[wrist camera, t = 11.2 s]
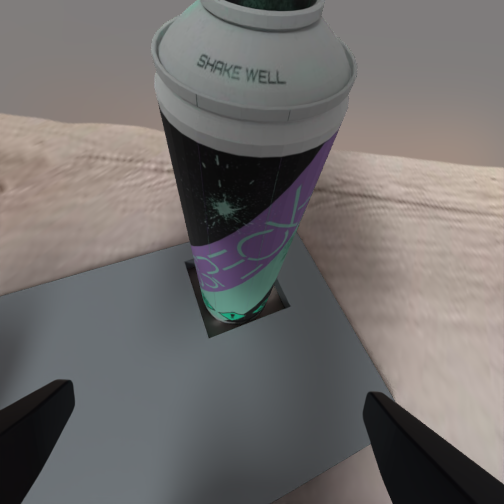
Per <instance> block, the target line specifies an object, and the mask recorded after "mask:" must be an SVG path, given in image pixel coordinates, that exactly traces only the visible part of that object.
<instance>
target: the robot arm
mask: <svg viewBox="0 0 504 504" xmlns="http://www.w3.org/2000/svg"><path fill="white" fill-rule="evenodd" d="M74 407H75V394H74V386H73V382H72V381H71V380H69V379H56V380H54V381H52V382H50V383H48V384H47V385H45V386H43V387H41V388H39V389H38V390H36V391H34V392H32V393H30V394H28V395H27V396H25V397H23V398H21V399H19V400H18V401H16V402H14V403H12V404H10V405H9V406H7V407H5V408H3V409H1V410H0V504H21V503H22V501H23V500H24V498H25V497H26V495H27V494H28V492H29V490H30V489H31V487H32V486H33V484H34V482H35V481H36V479H37V477H38V476H39V474H40V473H41V471H42V469H43V467H44V466H45V464H46V462H47V460H48V458H49V456H50V454H51V452H52V451H53V449H54V447H55V445H56V443H57V441H58V439H59V437H60V435H61V433H62V431H63V429H64V428H65V426H66V424H67V422H68V420H69V418H70V416H71V414H72V412H73V410H74ZM362 415H363V421H364V424H365V427H366V430H367V433H368V437H369V440H370V443H371V446H372V449H373V452H374V455H375V458H376V461H377V464H378V467H379V470H380V473H381V476H382V479H383V481H384V484H385V486H386V489H387V491H388V494H389V496H390V498H391V501H392V503H393V504H504V484H503V483H501V482H500V481H499V480H497V479H496V478H495V477H493V476H492V475H491V474H489V473H488V472H487V471H485V470H484V469H483V468H481V467H480V466H479V465H478V464H476V463H475V462H474V461H472V460H471V459H470V458H468V457H467V456H466V455H464V454H463V453H462V452H460V451H459V450H458V449H456V448H455V447H454V446H452V445H451V444H450V443H449V442H447V441H446V440H445V439H443V438H442V437H441V436H439V435H438V434H437V433H435V432H434V431H433V430H431V429H430V428H429V427H427V426H426V425H425V424H423V423H422V422H421V421H420V420H418V419H417V418H416V417H414V416H413V415H412V414H410V413H409V412H408V411H406V410H405V409H404V408H402V407H401V406H400V405H398V404H397V403H396V402H394V401H393V400H392V399H390V398H389V397H388V396H387V395H385V394H384V393H382V392H377V391H369V392H368V393H367V395H366V399H365V403H364V408H363V414H362Z"/></svg>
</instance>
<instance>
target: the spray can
mask: <svg viewBox="0 0 504 504" xmlns="http://www.w3.org/2000/svg"><path fill="white" fill-rule="evenodd" d="M324 3H325V0H197V1H196V2H194V3H193V4H192V5H191V6H189V7H188V8H187V9H186V10H185V11H184V12H183V13H182V14H181V15H179V16H176V17H175V18H173V19H171V20H170V21H168V22H166V23H165V24H164V25H162V26H161V28H159V29H158V31H157V32H156V33H155V35H154V38H153V40H152V45H151V53H152V58H153V63H154V66H155V68H156V71H157V72H156V74H155V84H154V86H155V91H156V96H157V100H158V104H159V109H160V113H161V117H162V122H163V126H164V131H165V135H166V139H167V144H168V148H169V153H170V157H171V161H172V166H173V170H174V174H175V179H176V183H177V188H178V192H179V196H180V201H181V205H182V210H183V214H184V218H185V223H186V227H187V231H188V236H189V240H190V245H191V249H192V253H193V258H194V262H195V266H196V271H197V275H198V280H199V284H200V288H201V293H202V297H203V301H204V304H205V306H206V308H207V310H208V311H209V312H210V314H211V315H212V316H213V317H215V318H216V319H217V320H219V321H221V322H223V323H227V324H236V325H237V324H243V323H246V322H249V321H251V320H253V319H254V318H256V317H257V316H258V315H259V314H260V313H261V311H262V310H263V308H264V307H265V304H266V302H267V300H268V297H269V295H270V293H271V290H272V288H273V286H274V283H275V281H276V278H277V276H278V274H279V271H280V269H281V266H282V264H283V262H284V259H285V257H286V255H287V252H288V250H289V247H290V245H291V243H292V240H293V238H294V235H295V233H296V231H297V228H298V226H299V224H300V221H301V219H302V216H303V214H304V212H305V209H306V207H307V204H308V202H309V200H310V197H311V195H312V193H313V190H314V188H315V185H316V183H317V181H318V178H319V176H320V173H321V171H322V169H323V166H324V164H325V162H326V159H327V157H328V154H329V152H330V150H331V147H332V145H333V142H334V140H335V138H336V135H337V133H338V130H339V128H340V126H341V123H342V121H343V119H344V116H345V114H346V111H347V109H348V101H349V96H348V95H349V92H350V90H351V88H352V86H353V84H354V81H355V79H356V77H357V63H356V60H355V57H354V55H353V53H352V52H351V50H350V49H349V48H348V46H347V45H346V44H345V43H344V42H342V41H341V39H339V38H338V37H337V36H336V35H335V34H334V32H333V31H332V29H331V28H330V26H329V25H328V24H327V22H326V21H325V20H324V18H323V17H322V16H321V15H322V11H323V7H324Z"/></svg>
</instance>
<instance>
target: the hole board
mask: <svg viewBox="0 0 504 504" xmlns="http://www.w3.org/2000/svg"><path fill="white" fill-rule="evenodd" d="M193 267H196V266H195V262H194V258H193V253H192V249H191V245H190V242H187V243H184V244H180V245H177V246H173V247H170V248H166V249H163V250H159V251H156V252H152V253H149V254H146V255H142V256H139V257H135V258H132V259H128V260H125V261H121V262H118V263H114V264H111V265H107V266H104V267H100V268H97V269H94V270H90V271H87V272H83V273H80V274H76V275H73V276H69V277H66V278H62V279H59V280H55V281H52V282H48V283H45V284H42V285H38V286H35V287H31V288H28V289H24V290H21V291H17V292H14V293H10V294H7V295H3V296H0V410H1V409H3V408H5V407H7V406H9V405H10V404H12V403H14V402H16V401H18V400H19V399H21V398H23V397H25V396H27V395H28V394H30V393H32V392H34V391H36V390H38V389H39V388H41V387H43V386H45V385H47V384H48V383H50V382H52V381H54V380H56V379H69V380H71V381H72V382H73V386H74V394H75V407H74V410H73V412H72V414H71V416H70V418H69V420H68V422H67V424H66V426H65V428H64V429H63V431H62V433H61V435H60V437H59V439H58V441H57V443H56V445H55V447H54V449H53V451H52V452H51V454H50V456H49V458H48V460H47V462H46V464H45V466H44V467H43V469H42V471H41V473H40V474H39V476H38V477H37V479H36V481H35V482H34V484H33V486H32V487H31V489H30V490H29V492H28V494H27V495H26V497H25V498H24V500H23V501H22V503H21V504H271V503H272V502H274V501H276V500H277V499H279V498H281V497H282V496H284V495H286V494H287V493H289V492H291V491H293V490H294V489H296V488H298V487H299V486H301V485H303V484H304V483H306V482H308V481H309V480H311V479H313V478H314V477H316V476H318V475H319V474H321V473H323V472H324V471H326V470H328V469H329V468H331V467H333V466H335V465H336V464H338V463H340V462H341V461H343V460H345V459H346V458H348V457H350V456H351V455H353V454H355V453H356V452H358V451H360V450H361V449H363V448H365V447H366V446H368V445H370V444H371V443H370V440H369V437H368V433H367V430H366V427H365V424H364V421H363V415H362V414H363V408H364V403H365V399H366V395H367V393H368V392H369V391H377V392H382V393H384V394H385V395H387V396H388V397H389V398H390V399H392V400H393V401H394V402H395V400H394V399H393V397H392V395H391V394H390V392H389V390H388V388H387V387H386V385H385V383H384V382H383V380H382V378H381V376H380V375H379V373H378V371H377V369H376V368H375V366H374V364H373V363H372V361H371V359H370V357H369V356H368V354H367V352H366V350H365V349H364V347H363V345H362V344H361V342H360V340H359V338H358V337H357V335H356V333H355V331H354V330H353V328H352V326H351V325H350V323H349V321H348V319H347V318H346V316H345V314H344V313H343V311H342V309H341V307H340V306H339V304H338V302H337V300H336V299H335V297H334V295H333V294H332V292H331V290H330V288H329V287H328V285H327V283H326V281H325V280H324V278H323V276H322V275H321V273H320V271H319V269H318V268H317V266H316V264H315V262H314V261H313V259H312V257H311V256H310V254H309V252H308V250H307V249H306V247H305V245H304V244H303V242H302V240H301V238H300V237H299V235H298V233H297V231H296V233H295V235H294V238H293V240H292V243H291V245H290V247H289V250H288V252H287V255H286V257H285V259H284V262H283V264H282V266H281V269H280V271H279V274H278V276H277V278H276V281H275V283H274V286H275V288H276V290H277V292H278V295H279V297H280V299H281V301H282V303H283V305H284V307H285V309H283V310H280V311H278V312H275V313H273V314H270V315H267V316H265V317H262V318H260V319H257V320H255V321H252V322H250V323H247V324H244V325H242V326H239V327H237V328H234V329H232V330H229V331H227V332H224V333H221V334H219V335H216V336H214V337H211V338H208V334H207V331H206V328H205V325H204V322H203V319H202V316H201V312H200V309H199V306H198V303H197V300H196V297H195V294H194V290H193V287H192V284H191V281H190V278H189V275H188V272H187V269H190V268H193Z"/></svg>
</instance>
